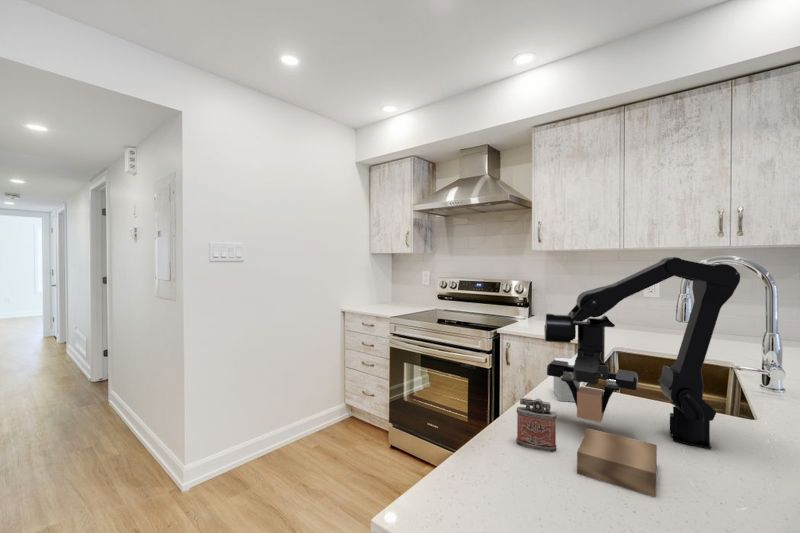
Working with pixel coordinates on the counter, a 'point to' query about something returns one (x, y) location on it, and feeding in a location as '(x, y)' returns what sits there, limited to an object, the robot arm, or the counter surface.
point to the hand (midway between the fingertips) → (590, 409)
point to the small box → (563, 384)
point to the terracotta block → (590, 404)
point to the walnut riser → (618, 461)
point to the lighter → (536, 425)
